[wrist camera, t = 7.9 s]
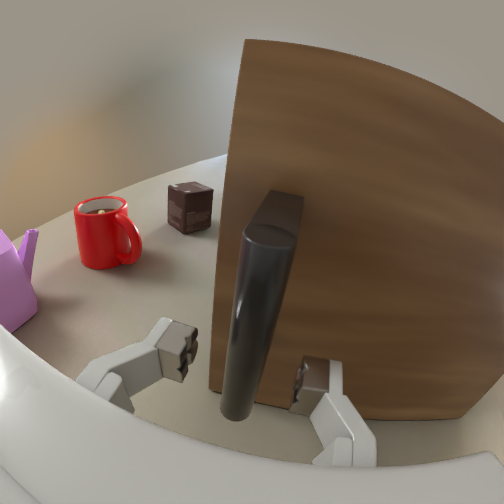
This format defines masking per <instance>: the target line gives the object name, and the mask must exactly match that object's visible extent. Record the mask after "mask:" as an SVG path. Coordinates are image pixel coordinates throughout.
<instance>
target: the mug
mask: <svg viewBox="0 0 504 504" xmlns="http://www.w3.org/2000/svg"><path fill="white" fill-rule="evenodd" d="M74 216H75V225H76V232H77V239H78V245H79V251H80V257H81V261H82V263H83V264H84V265H85V266H86V267H89V268H92V269H109V268H113V267H116V266H118V265H120V264H122V263H123V264H126V265H129V264H133V263H135V262H136V261H137V260H138V259H139V257H140V255H141V252H142V242H141V237H140V234H139V231H138V229H137V227H136V226H135V224H134V223H133V222H132V221H131V220H130V219H129V218H128V214H127V202H126V201H125V200H124V199H122V198H119V197H113V196H102V197H95V198H91V199H88V200H85V201H83V202H81V203H79V204H77V205H76V206H75V208H74ZM129 239H130V242H131V251H130V247H129Z"/></svg>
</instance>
